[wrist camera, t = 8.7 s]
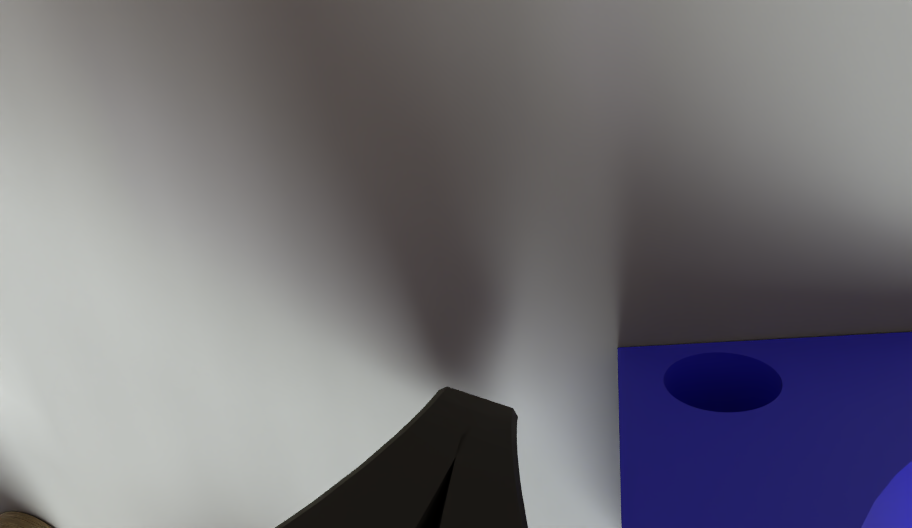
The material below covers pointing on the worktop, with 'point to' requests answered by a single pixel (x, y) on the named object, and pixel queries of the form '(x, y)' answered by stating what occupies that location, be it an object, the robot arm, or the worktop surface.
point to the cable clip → (767, 433)
